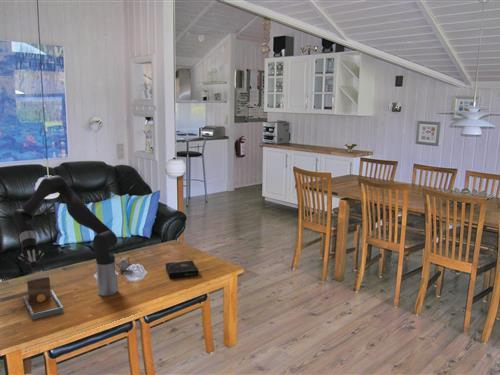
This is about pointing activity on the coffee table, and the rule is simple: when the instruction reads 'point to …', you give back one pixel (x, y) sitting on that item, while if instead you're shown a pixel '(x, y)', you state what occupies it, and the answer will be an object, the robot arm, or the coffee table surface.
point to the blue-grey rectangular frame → (46, 313)
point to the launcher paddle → (38, 287)
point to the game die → (124, 263)
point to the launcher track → (29, 305)
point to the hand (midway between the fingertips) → (34, 269)
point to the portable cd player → (181, 269)
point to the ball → (40, 298)
